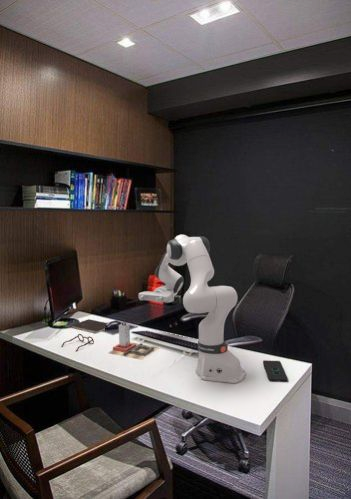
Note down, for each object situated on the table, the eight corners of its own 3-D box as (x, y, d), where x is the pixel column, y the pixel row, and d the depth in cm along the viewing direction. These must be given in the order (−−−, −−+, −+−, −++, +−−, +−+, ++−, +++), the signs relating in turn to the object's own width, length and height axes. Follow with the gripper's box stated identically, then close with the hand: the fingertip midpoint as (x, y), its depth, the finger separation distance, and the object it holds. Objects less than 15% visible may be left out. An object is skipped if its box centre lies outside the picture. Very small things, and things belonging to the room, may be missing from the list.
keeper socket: (136, 346, 195) (136, 344, 195) (126, 352, 187) (126, 349, 187) (122, 344, 199) (122, 341, 199) (112, 349, 191) (112, 347, 191)
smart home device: (268, 378, 155) (262, 360, 175) (268, 382, 155) (262, 363, 175) (288, 379, 154) (280, 360, 174) (288, 383, 154) (280, 364, 174)
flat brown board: (160, 350, 194) (160, 344, 193) (141, 362, 178) (141, 356, 177) (127, 344, 203) (127, 339, 203) (107, 355, 187) (107, 350, 187)
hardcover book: (95, 334, 223) (95, 330, 223) (70, 328, 236) (70, 325, 236) (114, 327, 237) (114, 324, 236) (89, 322, 250) (89, 318, 249)
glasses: (94, 345, 204) (94, 336, 204) (75, 352, 194) (75, 343, 193) (79, 341, 212) (78, 332, 212) (60, 347, 202) (59, 339, 201)
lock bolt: (130, 347, 194) (129, 322, 193) (125, 350, 191) (124, 324, 189) (124, 346, 196) (123, 321, 195) (119, 349, 192) (118, 323, 191)
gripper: (145, 287, 218) (132, 292, 206) (175, 290, 209) (163, 295, 196) (145, 298, 219) (132, 303, 207) (176, 301, 209) (164, 307, 197)
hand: (148, 299), depth 201 cm, fingers open, 8 cm apart
